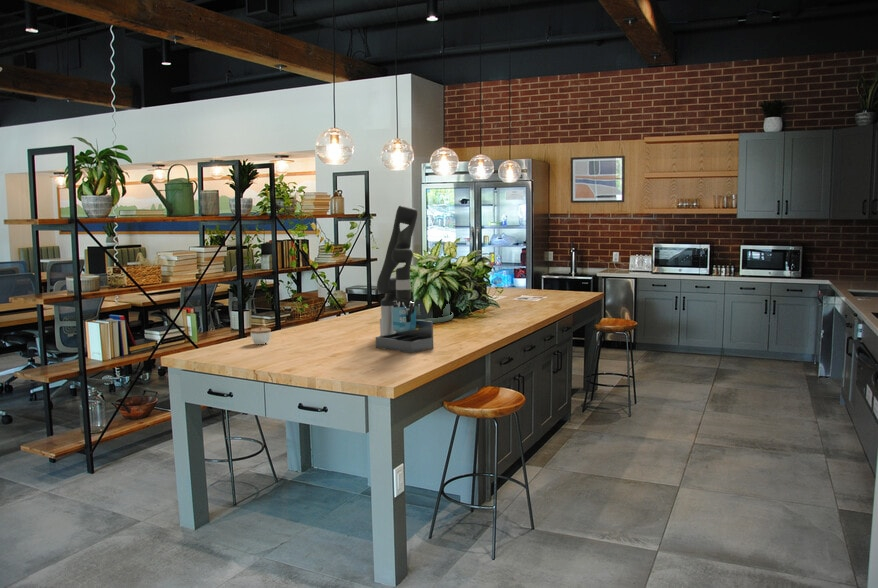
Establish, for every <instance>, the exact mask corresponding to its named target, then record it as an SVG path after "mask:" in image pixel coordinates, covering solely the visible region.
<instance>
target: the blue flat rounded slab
mask: <svg viewBox="0 0 878 588" xmlns="http://www.w3.org/2000/svg"><path fill="white" fill-rule="evenodd" d="M407 309H409V307H408V308H407ZM408 312H409V311H408ZM392 315H393V330H394V331H398V332H403V331H408V330H414V329H415V328H416V308H415V309H414V313H413V314H411V321H410V322H406V315H407V314H406V311H405V308H404V307H395V308H393V310H392Z"/></svg>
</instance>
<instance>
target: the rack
mask: <svg viewBox="0 0 878 588" xmlns="http://www.w3.org/2000/svg"><path fill="white" fill-rule="evenodd" d="M375 348H376V349H382V350H389V351H394V352H402V353H409V354H415V353H418V352H422V351H423V352H424V351H427V350H430V349H434V323H433V322H432V321H423V320H416V328H415V329H414V330H408V331H403V332H398V331H396V333H393V334H389V335H384V336H382V335H380V336H375Z"/></svg>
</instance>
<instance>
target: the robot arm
mask: <svg viewBox="0 0 878 588" xmlns="http://www.w3.org/2000/svg"><path fill="white" fill-rule="evenodd" d="M395 213H396V214H395V217H394V218H395V219H394V223H393V227H392V232H391V237H390V240H389V243H388V246H387V249H386V254H385V259H384V262H383V265H382V269H381V271H380V274H379V276H378V278H377V283H376V290H377V291H378V293H379V294H384V295H385V294H386V295H385V297H383V298H382V299H381V300H380V318H379V327H380V328H379V329H380V330H379V331H380V334H379V335H380V336H384V335H389V334H393V333H396V331H394V330H393V315H392V310H393V308H395V307H404V308H405V311H406V314H407V315H406V322H410V321H411V314H413V313H414V309H415V302H412V299H411V298H412V287H411V285H412V283H411V265H412V261H413V257H414V254H413V250H411V249H410V248H411V244H412V236H413V233H414V231H415V227H416V224H417V223H416V222H417V219H418V210H417V209H416V208H414V207H411V206H406V205H399V206H398V207H397V210H396V212H395ZM401 224H404V225H407V226H406V227H405V228H403V229H402V230H401V226H400V225H401ZM399 264H404V266H402V267H398V268H397V266H398V265H399ZM394 270H395V276H394V275H392V273H393V272H394ZM408 307H409V309H407V308H408ZM408 311H409V312H408Z"/></svg>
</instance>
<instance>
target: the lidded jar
mask: <svg viewBox="0 0 878 588" xmlns="http://www.w3.org/2000/svg"><path fill="white" fill-rule="evenodd" d="M249 331H250V337H251V340H252V342H253V343H254V344H255V345H256V344H264V343H267V344H268V343H269V341H270V340H271V337H272V336H271V335H272V333H271V332H272V329H271V328H268V327H262V326H259V327H258V328H252V329H250V330H249ZM264 345H265V344H264Z"/></svg>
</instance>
